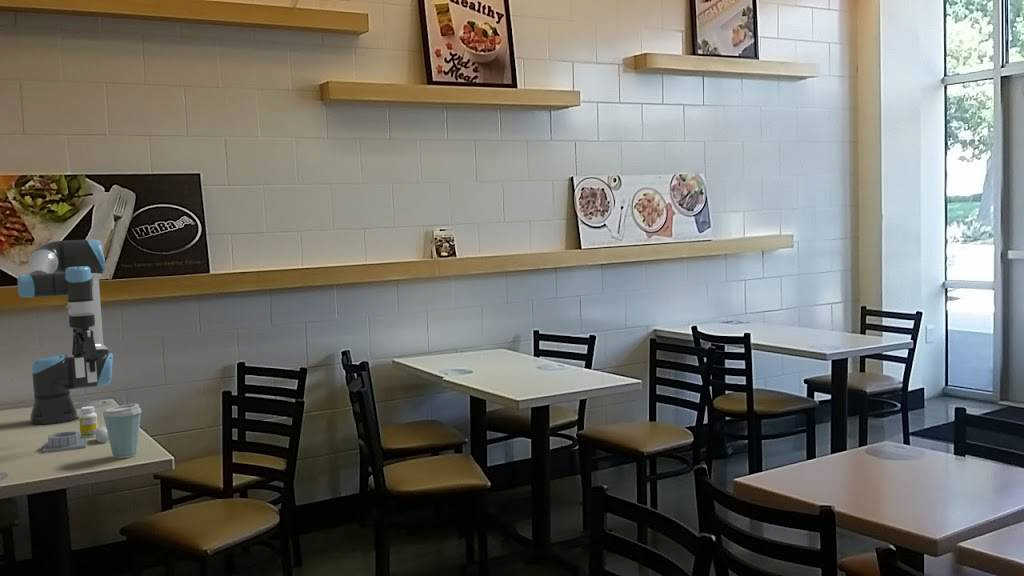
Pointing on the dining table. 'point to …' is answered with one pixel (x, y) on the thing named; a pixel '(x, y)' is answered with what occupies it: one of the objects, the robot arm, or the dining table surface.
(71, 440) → the coupling socket
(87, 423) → the supplement bottle
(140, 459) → the dining table surface
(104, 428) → the pipe stub
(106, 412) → the disposable coffee cup
